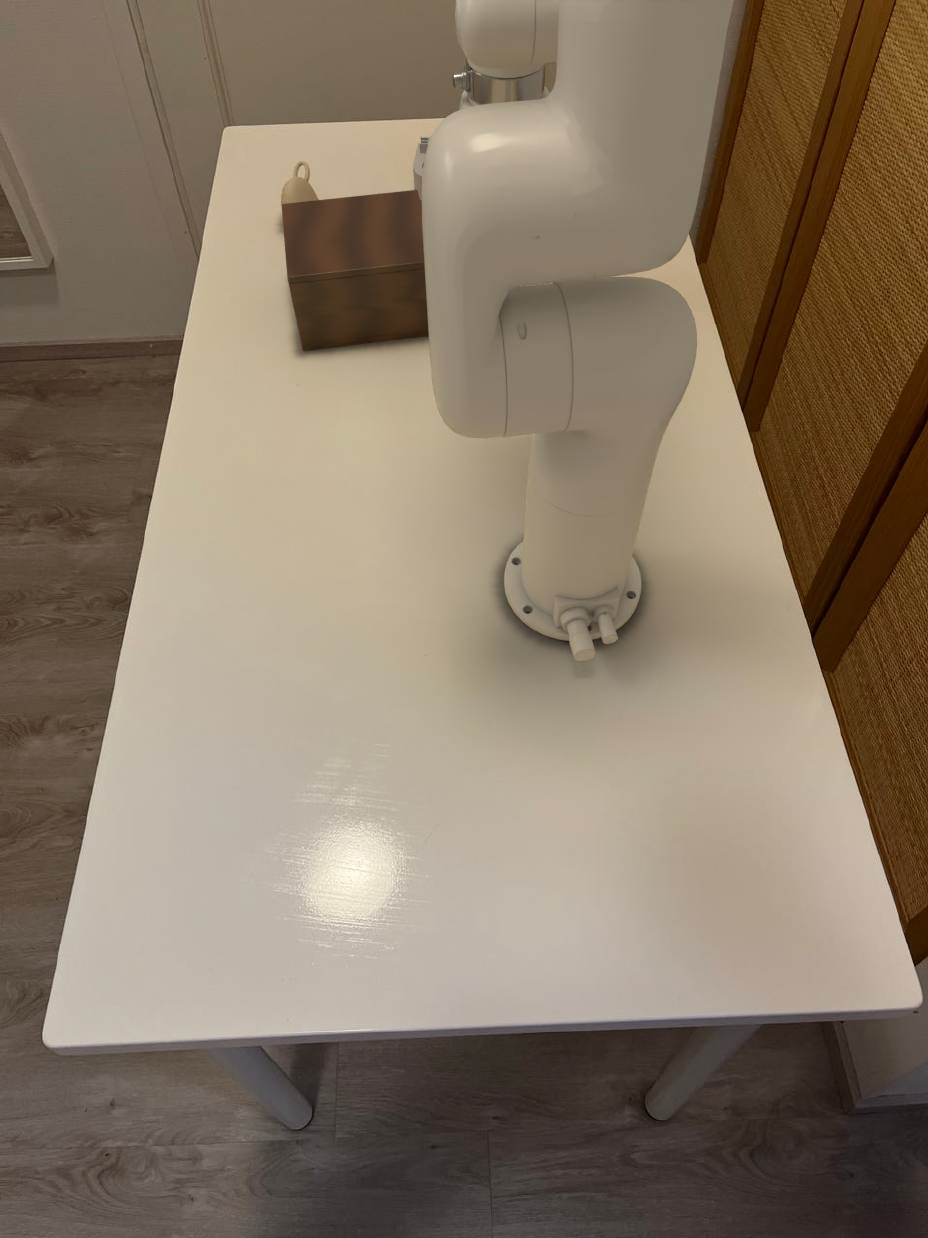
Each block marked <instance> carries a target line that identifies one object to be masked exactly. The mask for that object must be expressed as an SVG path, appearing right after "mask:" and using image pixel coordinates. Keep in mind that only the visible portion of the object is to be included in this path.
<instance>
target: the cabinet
mask: <svg viewBox="0 0 928 1238" xmlns="http://www.w3.org/2000/svg"><path fill="white" fill-rule="evenodd" d="M281 214H282V215H281V216H282V228H283V230H282V231H283V240H284V241H283V242H284V253H285V254H284V255H285V264H286V265H285V267H286V278H287V282H288V288H289V292H290V297H291V301H292V307H293V311H294V316H295V320H296V325H297V329H298V335H299V339H300V344H301V349H302V351H309V350H319V349H328V348H336V347H345V346H352V345H353V346H354V345H362V344H370V343H378V342H387V341H395V340H404V339H411V338H413V339H414V338H419V337H420V338H421V337H429V330H428V313H427V297H426V280H425V263H424V246H423V229H422V206H421V202H420V198H419V193H418V190H415V189H410V190H401V191H393V192H392V191H391V192H383V193H373V194H362V195H354V196H353V195H352V196H346V197H345V196H344V197H335V198H325V199H318V200H315V201H306V202H296V203H287V204H282V206H281Z"/></svg>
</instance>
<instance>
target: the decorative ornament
mask: <svg viewBox="0 0 928 1238" xmlns="http://www.w3.org/2000/svg"><path fill="white" fill-rule="evenodd" d="M302 166H303V167H304V171H305V173H304V177H300V176H298V175H299V169H300V168H301V167H302ZM310 178H311V171H310V166H309V164H308V162H306V161H305V160H300V161H298V162H297V163H296V165H295V166H294V168H293V172H292V177H291V178H289V180H287V181H286V182H285V183H284V186H283V187H282V190H281V196H280V206H281V207H282V204H287V203H296V202H306V201H315V200H319V197H318V195H317V193H316V191H315V190H314V188H313V186H312V185H311V184H310V182H309V181H310Z"/></svg>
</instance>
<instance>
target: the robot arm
mask: <svg viewBox="0 0 928 1238" xmlns="http://www.w3.org/2000/svg"><path fill="white" fill-rule="evenodd" d="M734 1H735V0H455V9H454V26H455V33H456V35H455V36H456V41H457V44H458V46H459V47H460V48H461V49H462V51H463V54H464V56H465V65H464V66H463V69H460V70H459V71H453V72H452V87H453V89H461V90H463V92H462V94H461V97H460V103H459V109H458V110H456V111H454V112H452V113H451V114H449V115H447V116H446V117H444V119H442V120H441V121H440V123H439V124H438V125H437V126H436V127H435V129H434V131H433V132H432V134H431V136H430V137H431V138H430V141H429V143H428V147H427V151H426V155H425V159H424V166H423V174H422V229H423V246H424V263H425V280H426V297H427V313H428V330H429V336H428V348H429V360H430V362H429V363H430V373H431V383H432V391H433V395H434V400H435V403H436V407H437V411H438V413H439V415H440V417H441V419H442V421H443V423H444V424H445V425H446V426H447V427H448V428H449V429H450V430H451V431H452V432H453V433H455V434H456V435H459V436H461V437H464V438H470V439H494V438H508V437H519V436H528V435H529V436H530V435H533V438H532V441H531V445H530V450H529V454H528V455H529V456H528V467H527V480H526V481H527V483H526V496H525V497H526V498H525V513H524V527H523V540H522V541H520V543H518V544H517V546H516V547H515V548H514V549H513V551H512V552H511V553H510V555H509V556H508V559H507V560H506V565H505V569H504V572H503V573H504V574H503V575H504V576H503V585H504V594H505V597H506V600H507V602H508V605H509V607H510V608H511V609H512V611H513V613H514V614H515V615H516V617H518V619H519V620H520V621H521V622H522V623H524V624H525V625H526V626H528V627H529V628H531V629H532V630H533V631H535V632H537V633H538V634H541V635H543V636H546V637H548V638H552V639H554V640H559V641H567V642H569V646H570V648H571V649H570V650H571V653H572V657H573V659H574V660H575V661H576V662H587V661H589V660H592V659H593V658H594V657H595V656H596V655H597V651H596V650H595V645H594V642H593V640H597V639H600V638H601V641H602V643H603V644H605V645H610V644H614V643H615V642H617V640H618V639H619V636H618V633H617V630H619V629H620V628H621V627H622V626H624V625H625V624H626V623H627V622H628V621H630V618H631V617H632V615H633V614H634V613H635V611H636V609H637V606H638V604H639V602H640V597H641V594H642V583H643V582H642V581H643V580H642V575H641V570H640V567H639V565H638V563H637V560H636V559H635V557H634V556H633V554H634V549H635V545H636V541H637V537H638V533H639V529H640V525H641V520H642V516H643V512H644V510H645V509H644V508H645V504H646V499H647V495H648V491H649V487H650V484H651V480H652V476H653V473H654V472H653V471H654V468H655V464H656V460H657V457H658V453H659V450H660V446H661V443H662V440H663V438H664V435H665V433H666V430H667V428H668V426H669V424H670V423H671V420H672V418H673V417H674V414H675V412H676V411H677V409H678V407H679V405H680V404H681V402H682V399H683V397H684V395H685V393H686V391H687V389H688V387H689V385H690V381H691V377H692V375H693V371H694V368H695V363H696V359H697V358H696V357H697V350H698V349H697V348H698V332H697V331H698V330H697V324H696V321H695V316H694V314H693V311H692V309H691V307H690V305H689V303H688V301H687V300H686V298H685V297H684V296H683V295H682V294H681V293H680V292H679V291H678V290H677V289H676V288H674V287H673V286H671V285H670V284H667V283H666V282H662V281H660V280H657V279H654V278H649V277H648V278H647V277H641V276H627V275H635V274H638V273H645V272H649V271H652V270H654V269H655V270H656V269H658V268H660V267H662V266H664V265H666V264H667V263H669V262H670V261H672V260H673V259H674V258H675V257H676V256H677V255H678V254H679V253H680V252H681V250H682V248H683V246H684V245H685V243H686V241H687V239H688V237H689V234H690V231H691V229H692V225H693V221H694V218H695V214H696V210H697V205H698V200H699V196H700V192H701V187H702V181H703V176H704V169H705V165H706V164H705V163H706V158H707V152H708V146H709V141H710V135H711V131H712V124H713V118H714V111H715V107H716V100H717V94H718V88H719V83H720V77H721V71H722V65H723V60H724V53H725V46H726V40H727V35H728V29H729V23H730V19H731V15H732V11H733V6H734ZM555 63H556V72H555V79H554V80H555V81H554V84H553V87H552V89H551V90H550V91H549V89H548V88H547V87H546V85H545V82H546V81H545V80H546V64H555Z"/></svg>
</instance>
